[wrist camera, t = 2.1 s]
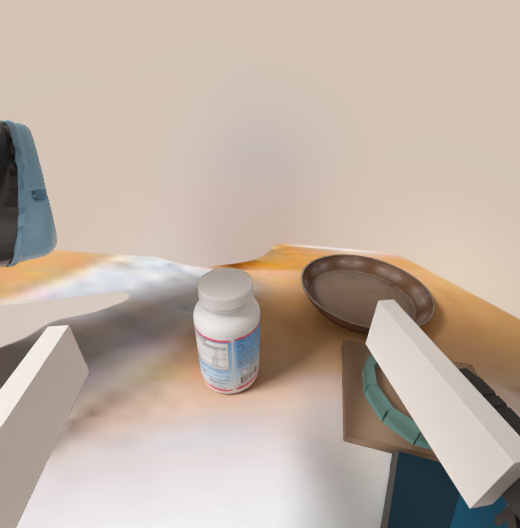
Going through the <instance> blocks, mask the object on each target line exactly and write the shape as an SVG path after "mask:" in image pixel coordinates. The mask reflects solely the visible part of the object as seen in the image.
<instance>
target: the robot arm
mask: <svg viewBox="0 0 520 528" xmlns="http://www.w3.org/2000/svg"><path fill="white" fill-rule="evenodd" d="M56 244H57V235H56V230H55V225H54V220H53V216H52V211H51V207H50V203H49V200H48V196H47V193H46V187H45V184H44V178H43V174H42V170H41V167H40V163H39V158H38V155H37V151H36V147H35V144H34V140H33V137H32V134H31V131H30V130H29V129H28V127H26V126H25V125H23V124H20V123H13V122H12V121H9V120H6V121H0V267H5V266H6V267H11V266H14V265H16V264H17V263H19V262H23V261H27V260H30V259H34V258H38V257H42V256H45V255H47V254H49V253H50V252H52V251H53V249H54V248H55V246H56ZM366 345H367V347H368V349H369V350H370V352H371V353H372V355H373V356H374V358H375V360H376V361H377V363H378V364H379V366H380V367H381V369H382V371H383V372H384V374H385V375H386V377H387V379H388V380H389V382H390V383H391V385H392V386H393V388H394V390H395V391H396V393H397V394H398V396H399V398H400V399H401V401H402V402H403V404H404V405H405V407H406V409H407V410H408V412H409V413H410V415H411V417H412V418H413V420H414V421H415V423H416V424H417V426H418V428H419V429H420V431H421V432H422V434H423V435H424V437H425V439H426V440H427V442H428V443H429V445H430V447H431V448H432V450H433V451H434V453H435V454H436V456H437V458H438V459H439V461H440V462H441V464H442V466H443V467H444V469H445V470H446V472H447V473H448V475H449V477H450V478H451V480H452V481H453V483H454V485H455V486H456V488H457V489H458V491H459V492H460V494H461V496H462V497H463V499H464V500H465V502H466V504H467V505H468V507H469V508H470V509H471V508H476V507H481V506H486V505H491V504H493V503H494V502H495V501H496V500H497V499H498V498H499V497H500V496H501V495H502V496H503V498H504V499H505V501H506V502H507V503H508V506H507V507H506V508H505V509H504V510H502V511H501V512H500V513H499V514H498V515H497V516H496V517H495V525H497V526H500V525H502V524H503V523H504V522H505V521H506V520H507V525H508V526H507V528H520V418H519V417H518V416H517V414H516V413H515V412H514V411H513V410H512V409H511V408H510V407H509V408H508V407H507V404H506V403H505V402H504V401H503V400H502V399H501V398H500V397H499V396H496V394H495V392H494V391H493V390H492V389H491V388H490V387H489V386H488V385H487V384H486V383H485V382H484V381H483V380H482V379H481V378H480V377H478V376H477V375H475V374H474V373H472V372H471V371H469V370H468V369H466V368H461V369H457V368H456V366H455V365H454V364H453V363H452V362H451V361H450V360H449V359H448V358H447V357H446V356H445V355H444V353H443V352H442V351H441V350H440V349H439V348H438V347H437V346H436V345H435V344H434V343H433V342H432V340H431V339H430V338H429V337H428V336H427V335H426V334H425V333H424V332H423V331H422V330H421V328H420V327H419V326H418V325H417V324H416V323H415V322H414V321H413V320H412V319H411V318H410V317H409V315H408V314H407V313H406V312H405V311H404V310H403V309H402V308H401V307H400V306H399V305H398V304H397V302H396V301H395V300H394V299H392V300H380V301H378V303H377V306H376V310H375V313H374V317H373V320H372V323H371V327H370V330H369V334H368V337H367V340H366ZM88 374H89V369H88V367H87V365H86V362H85V360H84V358H83V356H82V353H81V351H80V349H79V347H78V344H77V342H76V340H75V338H74V335H73V333H72V331H71V329H70V326H69V325H62V326H49V327H47V328H46V330H45V331H44V332H43V334H42V335H41V336H40V338H39V339H38V340H37V341H36V343H35V344H34V345H33V347H32V348H31V349H30V351H29V352H28V353H27V355H26V356H25V357H24V359H23V360H22V361H21V363H20V364H19V365H18V367H17V368H16V369H15V371H14V372H13V373H12V375H11V376H10V377H9V379H8V380H7V381H6V383H5V384H4V385H3V387H2V388H1V389H0V528H16V526H17V524H18V522H19V520H20V518H21V516H22V514H23V512H24V509H25V507H26V505H27V503H28V501H29V499H30V497H31V495H32V493H33V490H34V488H35V486H36V484H37V482H38V480H39V478H40V476H41V473H42V471H43V469H44V467H45V465H46V463H47V461H48V459H49V456H50V454H51V452H52V450H53V448H54V446H55V444H56V442H57V439H58V437H59V435H60V433H61V431H62V429H63V427H64V425H65V422H66V420H67V418H68V416H69V414H70V412H71V410H72V408H73V405H74V403H75V401H76V399H77V397H78V395H79V393H80V391H81V388H82V386H83V384H84V382H85V380H86V378H87V376H88Z"/></svg>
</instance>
